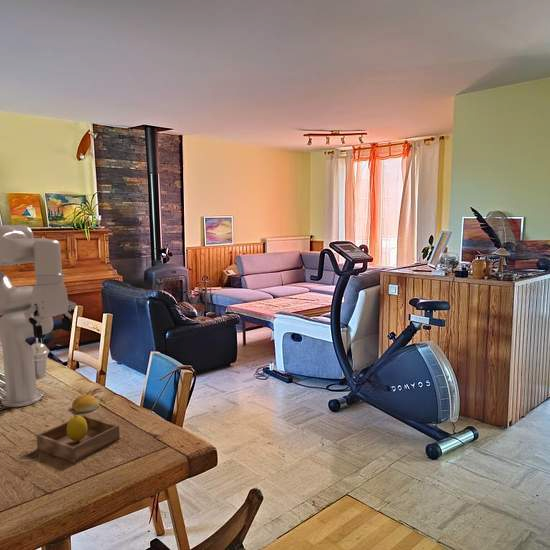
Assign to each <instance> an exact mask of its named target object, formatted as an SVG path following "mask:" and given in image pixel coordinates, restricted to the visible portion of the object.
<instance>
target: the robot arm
mask: <svg viewBox="0 0 550 550" xmlns="http://www.w3.org/2000/svg"><path fill="white" fill-rule="evenodd" d="M29 263H34V265H33V266H34V278H35V285H24V286H14V285H13V284H12V282H11V280H10V278H9V276H7V275H6V274H5V273H4V272H3V271H2V270H1V271H0V316H1V317H0V342H1V343H0V344H1V350H2V358H3V371H4V383H5V385H4V386H5V388H4V387H3V389H2V391H3V392H4V393H5V397H3V398H2V399H1V405H2V406H4V407H7V408H19V407H24V406H29V405H32V404H35V403H37V402H39V401H40V400H41V399H42V398H43V394H42V392H40V391H37V378H36V375H35V361H34V351H33V348H32V347H31V345H30V344H29V343H28V342H27V341H26V340H27V339H30V338H35V339H36V338H38V339H43V337H44V335H47V334H49V333H50V332H52V330H53V329H54V319H53V317H56V316H57V317H58V316H61V325H62V326H61V329H62V331H65V332H71V329H72V328H71V319H72V318H73V315H74V313H75V309H76V307H77V303H76V302H74V301H70V300H69V298H68V292H67V291H68V290H67V288H66V284H65V282H64V281H63V279H66V275H65V273H64V274H63V267H62V252H61V243H60V241H59V240H57V239H51V238H46V237H38V238H37V237H34V233H33V231H32V229H31V228H30V227H29V226H28V225H25V224H0V267H5V266H6V267H7V266H16V265H19V264H29Z"/></svg>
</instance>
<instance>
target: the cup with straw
mask: <svg viewBox="0 0 550 550" xmlns="http://www.w3.org/2000/svg"><path fill="white" fill-rule="evenodd" d="M30 346H31V347H32V348H33V351H34V361H35V375H36V379H41V378H44V377H47V366H48V365H47V363H48V355H49V353H50V348H48V347H47V346H46V344H44V343H43V342H39V338H35V343H33V344H31V345H30Z"/></svg>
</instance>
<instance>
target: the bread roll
mask: <svg viewBox="0 0 550 550" xmlns="http://www.w3.org/2000/svg"><path fill="white" fill-rule="evenodd" d="M71 406H72V408H73V409H74V410H75V412H78V413H88V412H92V411H95V410H96V409H97V408H99V406H100V401H99V400H98V398H96V397H95V396H93V395H91V394H82V395H78V396H77V397H76V398H75V399H74V400H73V401H72V403H71Z"/></svg>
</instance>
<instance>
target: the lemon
mask: <svg viewBox="0 0 550 550" xmlns="http://www.w3.org/2000/svg"><path fill="white" fill-rule="evenodd" d="M81 416H82V415H78V414H75V415H74V416H73V417H70V419H69V420H68V421H67V422H68V424H67V435H68V437H69V438H70V439H71V440H73V441H76V442H79V441H80V440H81V439H83V438H84V437H85V436H86V434H87V428H88V427H87V422H86V420H85V419H84V418H83V417H81Z"/></svg>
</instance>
